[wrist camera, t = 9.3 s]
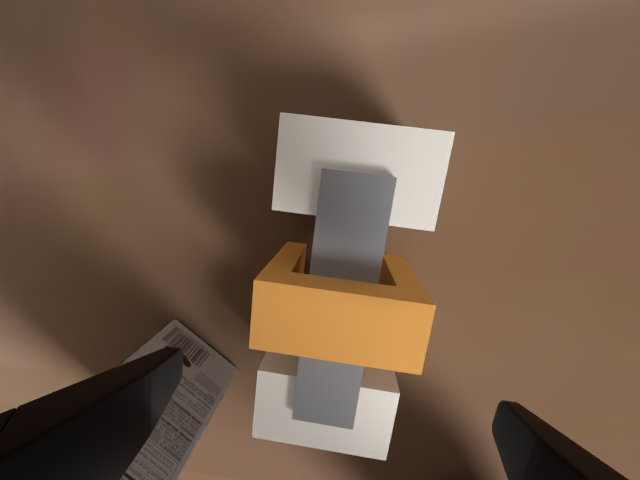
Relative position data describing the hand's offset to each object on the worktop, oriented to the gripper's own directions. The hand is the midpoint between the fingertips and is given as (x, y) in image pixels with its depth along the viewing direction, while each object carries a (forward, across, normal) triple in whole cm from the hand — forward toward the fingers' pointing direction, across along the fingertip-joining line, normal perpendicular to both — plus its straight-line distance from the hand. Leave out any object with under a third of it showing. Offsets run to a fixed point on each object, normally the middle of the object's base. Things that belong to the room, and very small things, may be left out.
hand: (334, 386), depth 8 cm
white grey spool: (+12, 0, 0) cm, 12 cm away
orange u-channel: (+10, 0, 0) cm, 10 cm away
